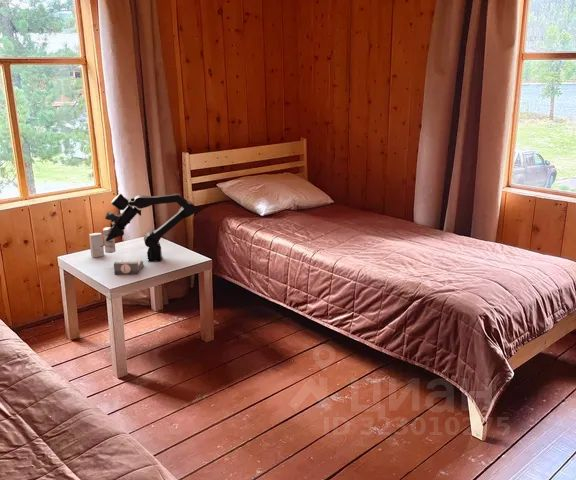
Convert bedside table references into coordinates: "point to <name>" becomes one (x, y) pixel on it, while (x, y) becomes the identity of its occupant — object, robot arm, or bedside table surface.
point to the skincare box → (96, 244)
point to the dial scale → (128, 267)
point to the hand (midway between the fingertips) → (106, 239)
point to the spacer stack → (108, 244)
